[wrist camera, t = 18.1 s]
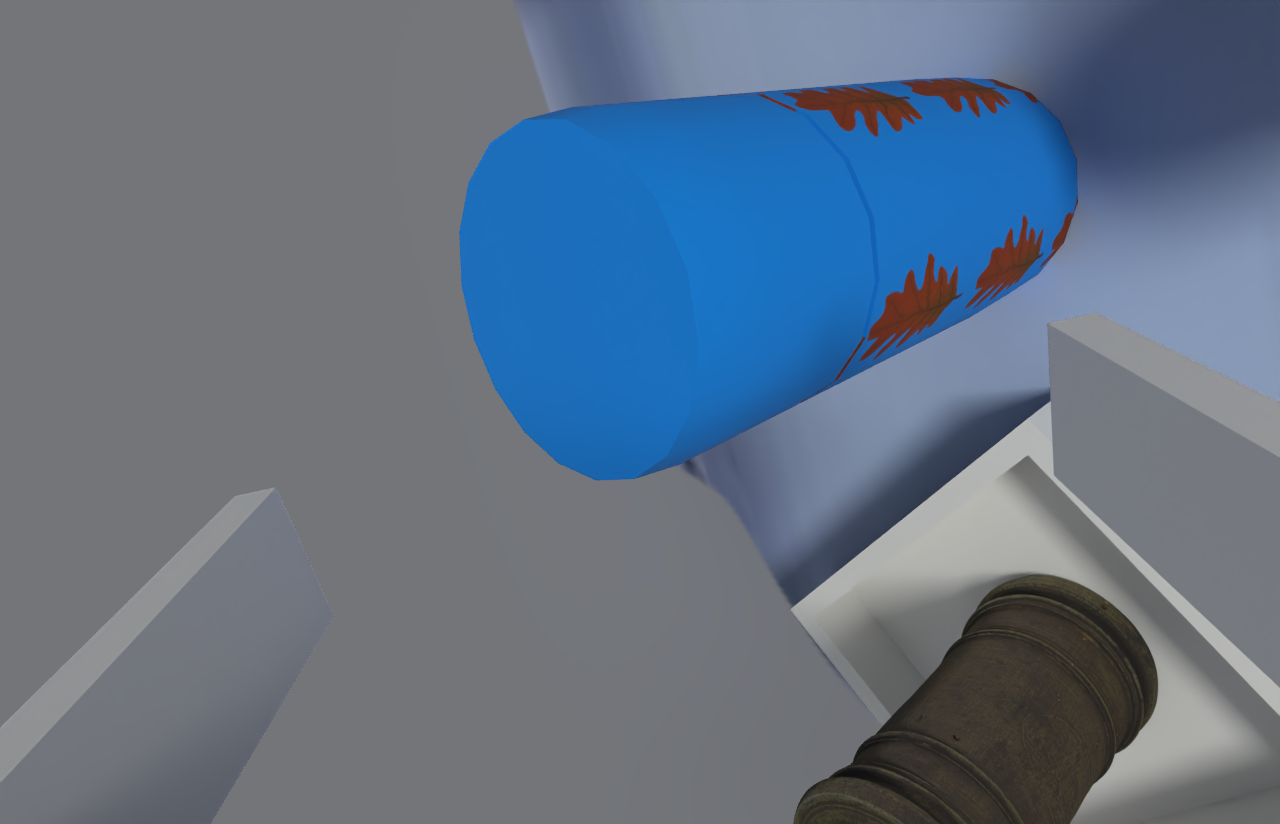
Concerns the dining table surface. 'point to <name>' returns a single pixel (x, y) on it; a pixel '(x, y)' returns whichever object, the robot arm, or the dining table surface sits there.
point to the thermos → (744, 252)
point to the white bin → (1091, 556)
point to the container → (1004, 718)
